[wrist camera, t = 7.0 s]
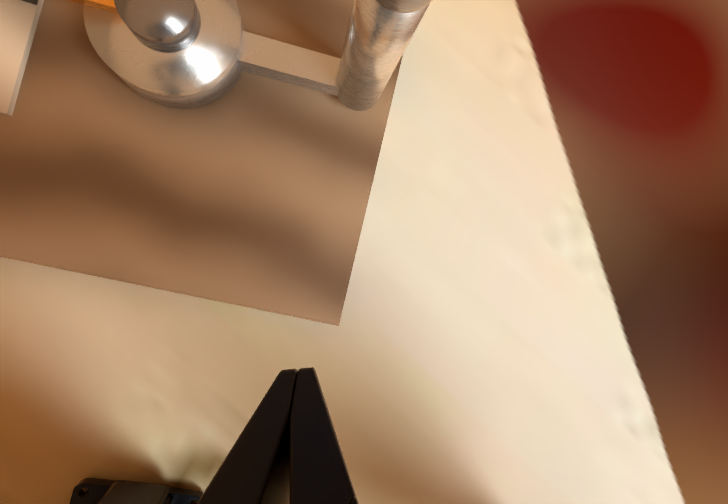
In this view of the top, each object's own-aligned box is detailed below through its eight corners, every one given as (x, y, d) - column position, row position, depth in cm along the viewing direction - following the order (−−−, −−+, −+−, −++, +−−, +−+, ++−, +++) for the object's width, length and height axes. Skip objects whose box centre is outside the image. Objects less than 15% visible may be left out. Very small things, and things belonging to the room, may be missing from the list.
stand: (334, 319, 22) (339, 327, 20) (-53, 238, 19) (-106, 236, 16) (410, -1, 23) (424, -31, 20) (51, -134, 19) (15, -190, 17)
